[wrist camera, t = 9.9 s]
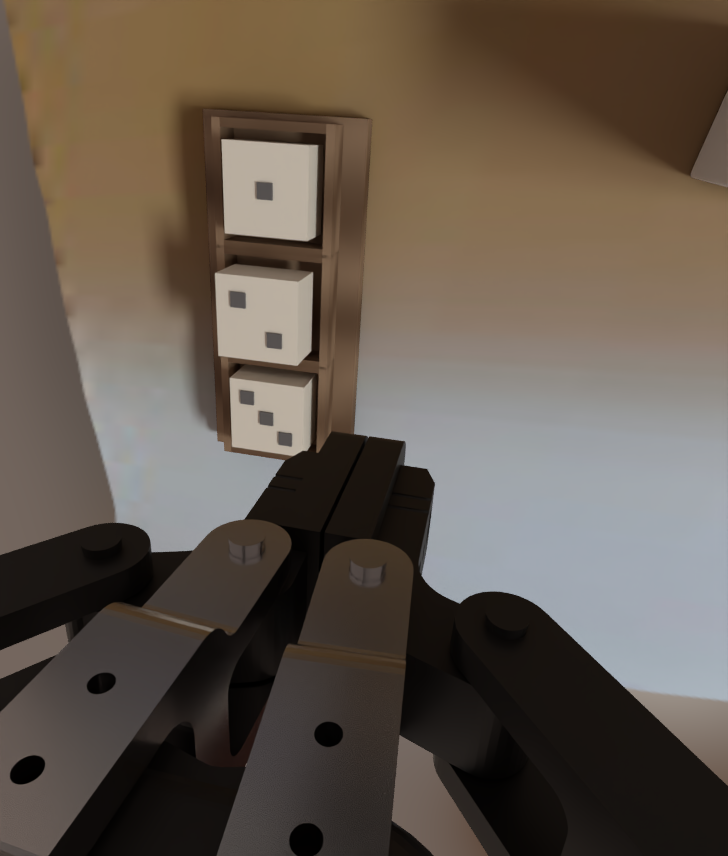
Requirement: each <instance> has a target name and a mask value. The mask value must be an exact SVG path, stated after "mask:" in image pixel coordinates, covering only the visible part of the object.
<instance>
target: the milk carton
mask: <svg viewBox="0 0 728 856" xmlns="http://www.w3.org/2000/svg"><path fill="white" fill-rule="evenodd" d="M691 177H692V178H694V179H698V180H702V181H706V182H709V183H713V184H717V185H720V186H724V187H728V91H727V93H726V95H725V97H724V100H723V102H722V104H721V106H720V108H719V111H718V113H717V115H716V117H715V120H714V122H713V124H712V126H711V129H710V131H709V133H708V135H707V137H706V140H705V142H704V144H703V146H702V149H701V151H700V153H699V155H698V158H697V160H696V162H695V164H694V167H693V169H692V172H691Z"/></svg>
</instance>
